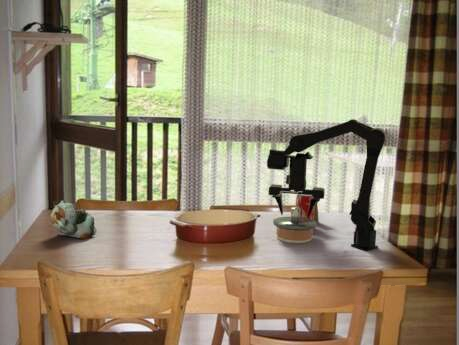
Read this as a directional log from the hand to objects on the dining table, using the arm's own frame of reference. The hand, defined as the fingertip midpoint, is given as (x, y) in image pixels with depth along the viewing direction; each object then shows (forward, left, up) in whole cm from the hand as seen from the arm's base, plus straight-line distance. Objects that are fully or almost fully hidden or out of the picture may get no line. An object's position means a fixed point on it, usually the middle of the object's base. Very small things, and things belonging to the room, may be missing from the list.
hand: (295, 215), depth 182 cm
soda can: (+8, -13, -8) cm, 17 cm away
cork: (+12, -21, -8) cm, 26 cm away
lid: (0, 0, -3) cm, 3 cm away
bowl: (0, 0, -8) cm, 8 cm away
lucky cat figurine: (+42, +62, -8) cm, 76 cm away
